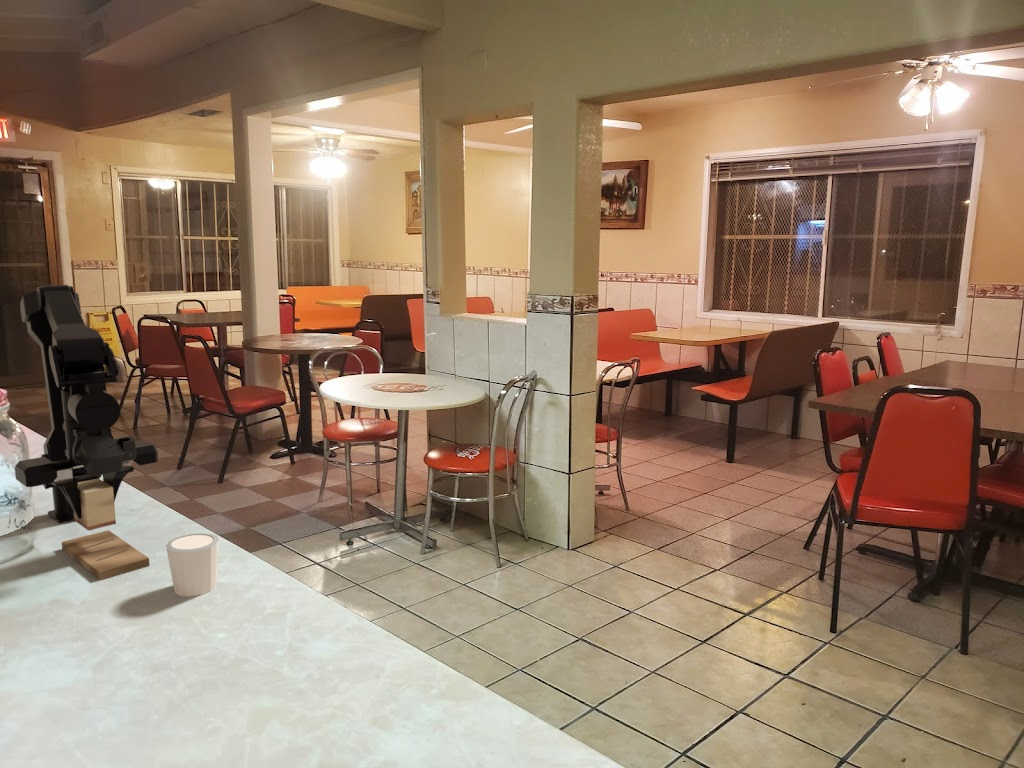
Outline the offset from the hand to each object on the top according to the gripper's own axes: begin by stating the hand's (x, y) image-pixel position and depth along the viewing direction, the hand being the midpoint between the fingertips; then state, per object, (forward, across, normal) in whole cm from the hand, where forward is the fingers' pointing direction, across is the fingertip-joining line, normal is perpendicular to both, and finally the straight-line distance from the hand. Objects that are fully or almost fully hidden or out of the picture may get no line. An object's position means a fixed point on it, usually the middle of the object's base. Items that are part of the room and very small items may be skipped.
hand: (94, 514), depth 118 cm
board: (+6, 0, -3) cm, 7 cm away
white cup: (+6, +5, -23) cm, 24 cm away
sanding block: (+1, 0, 0) cm, 1 cm away
